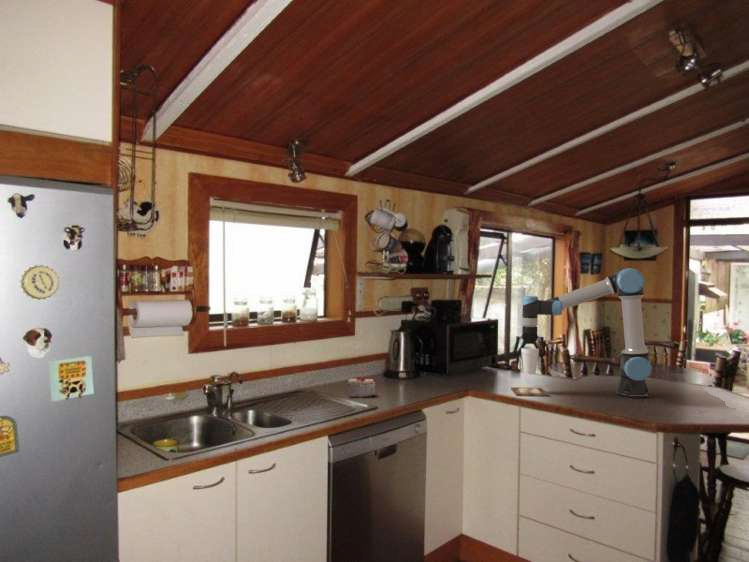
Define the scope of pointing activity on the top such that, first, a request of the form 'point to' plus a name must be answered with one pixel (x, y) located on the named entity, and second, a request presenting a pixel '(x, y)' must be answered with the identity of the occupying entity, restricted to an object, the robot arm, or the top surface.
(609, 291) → the robot arm
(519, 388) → the trivet
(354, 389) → the food item
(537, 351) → the foam cup
